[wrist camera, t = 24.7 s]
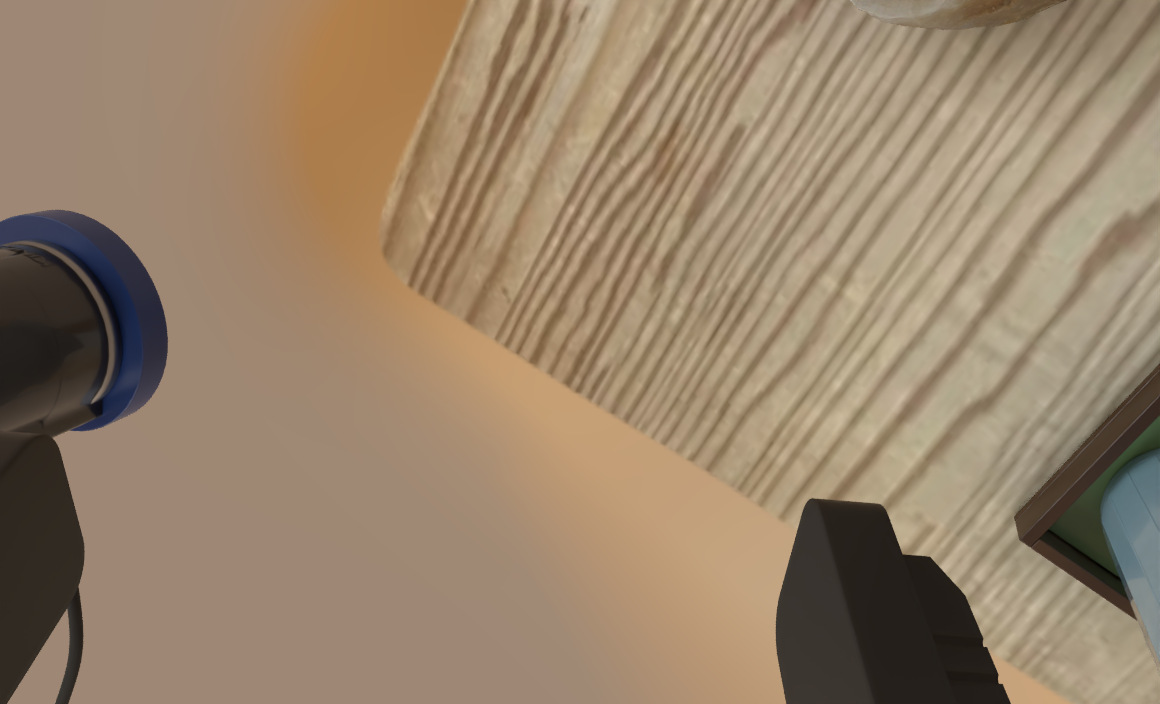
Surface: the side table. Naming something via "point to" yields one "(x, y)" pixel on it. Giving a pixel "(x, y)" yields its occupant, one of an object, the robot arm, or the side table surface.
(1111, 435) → the tray
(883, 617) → the robot arm
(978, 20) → the stone
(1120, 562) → the cup
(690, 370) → the side table surface
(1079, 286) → the side table surface
